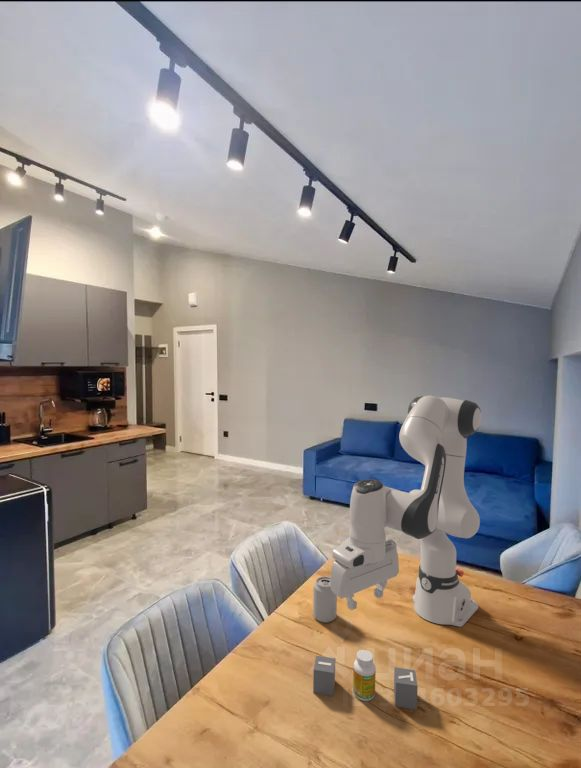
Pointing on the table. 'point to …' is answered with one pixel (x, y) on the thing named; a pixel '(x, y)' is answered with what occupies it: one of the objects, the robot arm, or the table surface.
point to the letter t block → (405, 688)
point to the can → (324, 600)
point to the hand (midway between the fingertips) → (365, 602)
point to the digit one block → (324, 675)
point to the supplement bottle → (364, 676)
